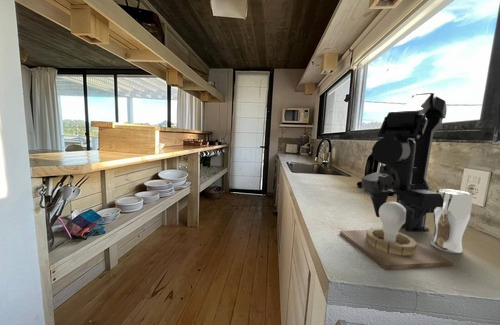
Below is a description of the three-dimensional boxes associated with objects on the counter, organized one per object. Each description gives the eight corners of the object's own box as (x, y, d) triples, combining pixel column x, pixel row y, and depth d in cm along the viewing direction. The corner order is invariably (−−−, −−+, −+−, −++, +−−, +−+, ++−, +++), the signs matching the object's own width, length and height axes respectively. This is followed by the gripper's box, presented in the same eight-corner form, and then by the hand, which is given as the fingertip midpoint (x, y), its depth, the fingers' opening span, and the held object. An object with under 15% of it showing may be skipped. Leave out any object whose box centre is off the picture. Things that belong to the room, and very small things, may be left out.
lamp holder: (391, 232, 64) (392, 222, 64) (452, 265, 48) (454, 253, 47) (339, 234, 62) (340, 224, 61) (385, 269, 45) (386, 256, 45)
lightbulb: (408, 251, 51) (414, 207, 50) (380, 247, 52) (385, 203, 51) (396, 240, 57) (402, 200, 56) (371, 236, 58) (376, 197, 57)
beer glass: (468, 257, 51) (478, 197, 50) (431, 248, 55) (439, 192, 53) (459, 246, 57) (468, 191, 56) (426, 238, 61) (433, 187, 59)
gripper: (346, 158, 60) (341, 211, 62) (403, 166, 42) (394, 242, 43) (381, 158, 62) (375, 210, 64) (450, 167, 44) (440, 240, 45)
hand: (391, 223), depth 54 cm, fingers open, 9 cm apart
